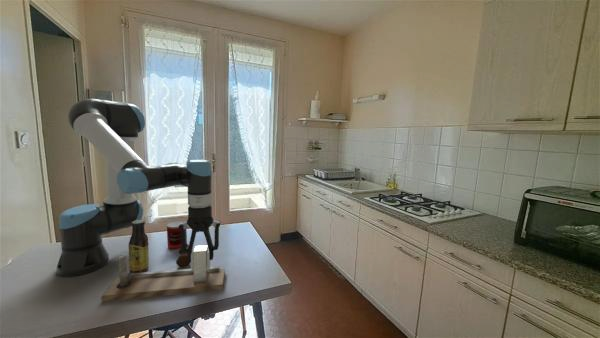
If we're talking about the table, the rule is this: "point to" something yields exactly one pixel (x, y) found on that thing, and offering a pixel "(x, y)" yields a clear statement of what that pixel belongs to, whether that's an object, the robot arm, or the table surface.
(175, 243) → the canned food
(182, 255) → the bolt
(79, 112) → the robot arm
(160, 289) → the board
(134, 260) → the sauce bottle
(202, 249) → the block
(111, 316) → the table surface
